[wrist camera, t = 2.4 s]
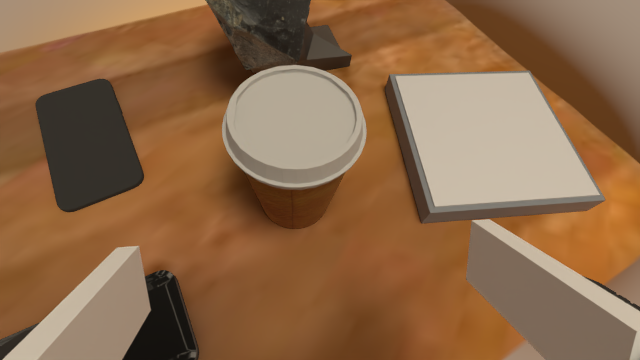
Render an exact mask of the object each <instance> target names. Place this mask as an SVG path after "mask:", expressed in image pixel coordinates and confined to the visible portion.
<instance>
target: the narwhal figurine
mask: <svg viewBox="0 0 640 360" xmlns="http://www.w3.org/2000/svg"><path fill="white" fill-rule="evenodd" d="M206 1H207V3H208V5H209V7H210V8H211V10H212V12H213V13H214V15H215V17H216V18H217V20H218V22H219V24H220V26H221V27H222V29H223V31H224V32H225V34H226V36H227V37H228V39H229V41H230V43H231V44H232V46H233V48H234V51H235V53H236V55H237V56H238V58H239V60H240V61H241V63H242V65H243V67H244V68H245V69H246V70H249V69H250V70H251V71H252V72H253V73H254V72H255V73H258V72H260V71H263V70H267V69H270V68H273V67H277V66H288V65H300V66H308V67H314V68H317V69H320V70H323V71H326V70H330V69H336V68H341V67H347V66H350V61H351V56H352V55H351V54H349V53H347V52H345V51H344V50H342V49H340V47H339V45H338V43H337V41H336V39H335V38H334V36H333V34H332V32H331V30H330V28H329V26H328V25H323V26H317V27H309V25H308V24H307V18H308V15H309V9H310V8H309V5H310V1H311V0H206Z"/></svg>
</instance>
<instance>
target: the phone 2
mask: <svg viewBox="0 0 640 360" xmlns="http://www.w3.org/2000/svg"><path fill="white" fill-rule="evenodd" d="M145 281H146V287H147V292H148V297H149V303H150V308H151V311H150V312H149V314H148V316H147V317H146V319H145V321H144V323H143V324H142V326H141V328H140V330H139V331H138V333H137V335H136V336H135V338H134V340H133V342H132V343H131V345H130V347H129V349H128V350H127V352H126V354H125V355H124V357H123V359H122V360H198V356H199V349H198V345H197V341H196V338H195V335H194V332H193V328H192V325H191V322H190V319H189V315H188V312H187V309H186V306H185V303H184V299H183V296H182V293H181V290H180V286H179V283H178V280H177V278H176V277H175V276H174V275H173V274H172V273H170V272H169V271H166V270H161V271H157V272H154V273H152V274H150V275H148V276H145ZM38 324H39V323H38ZM38 324H35V325H33V326H31V327H28V328H26V329H24V330H22V331H19V332H17V333H15V334H12V335H10V336H8V337H5V338H3V339H1V340H0V347H1V346H2V345H3V344H5V343H6V342H8V341H10V340H11V339H13V338H14V337H16V336H17V335H19V334H21V333H22V332H24V331H26V330H33V329H34V328H35V327H36V326H37V325H38Z"/></svg>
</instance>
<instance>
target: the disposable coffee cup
mask: <svg viewBox="0 0 640 360" xmlns="http://www.w3.org/2000/svg"><path fill="white" fill-rule="evenodd" d="M366 132H367V131H366V123H365V119H364V116H363V113H362V110H361V106H360V104H359V101H358V98H357V97H356V96H355V94H354V93H353V91H352V90H351V89H350V88H349V87H348V86H347V85H346V84H345V83H344V82H343V81H342V80H340V79H339V78H337V77H336V76H334V75H332V74H330V73H328V72H326V71H323V70H320V69H317V68H314V67H308V66H300V65H288V66H277V67H273V68H270V69H267V70H263V71H260V72H258V73H257V74H255V75H253V76H251V77H249V78H248V79H247V80H245V81H244V82H243V83H242V84H241V85H240V86H239V87H238V88H237V90H236V91H235V92H234V94H233V95H232V97H231V99H230V101H229V105H228V108H227V111H226V113H225V116H224V119H223V124H222V136H223V141H224V144H225V147H226V149H227V151H228V153H229V155H230V156H231V158H232V159H233V161H234V162H235V164H236V165H237V166H238V167H240V168H241V169H242V170H243V171H244V172H245V174H246V176H247V178H248V180H249V182H250V184H251V186H252V188H253V190H254V192H255V194H256V196H257V197H258V200H259V201H260V203H261V205H262V207H263V209H264V212H265V213H266V215H267V216H268V217H269V218H270V219H271V220H272V221H273V222H275V223H276V224H278V225H280V226H282V227H285V228H290V229H299V228H305V227H307V226H310V225H312V224H314V223H315V222H317V221H318V220H319V219H320V218H321V217H322V216H323V214H324V213H325V211H326V209H327V207H328V205H329V203H330V201H331V199H332V197H333V195H334V193H335V191H336V189H337V187H338V186H339V183H340V182H341V180H342V178H343V176H344V174H345V172H346V171H347V170H349V169H350V168H351V167H352V165H353V164H354V163H355V162H356V160H357V159H358V158H359V156H360V154H361V152H362V150H363V147H364V145H365V140H366Z"/></svg>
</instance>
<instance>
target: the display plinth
mask: <svg viewBox="0 0 640 360" xmlns="http://www.w3.org/2000/svg"><path fill="white" fill-rule="evenodd" d="M385 92H386V96H387V100H388V103H389V107H390V110H391V114H392V118H393V121H394V125H395V129H396V132H397V136H398V140H399V143H400V147H401V150H402V154H403V158H404V161H405V165H406V169H407V172H408V176H409V179H410V183H411V187H412V190H413V194H414V198H415V201H416V205H417V209H418V212H419V216H420V219H421V223H432V222H445V221H458V220H471V219H484V218H497V217H510V216H523V215H536V214H550V213H563V212H576V211H587V210H589V209H591V208H593V207H594V206H596V205H598V204H600V203H602V202H603V201H605V198H604V196H603V194H602V193H601V191H600V189H599V188H598V186H597V184H596V183H595V181H594V179H593V177H592V176H591V174H590V172H589V171H588V169H587V167H586V166H585V164H584V162H583V161H582V159H581V157H580V155H579V154H578V152H577V150H576V149H575V147H574V145H573V144H572V142H571V140H570V138H569V137H568V135H567V133H566V132H565V130H564V128H563V127H562V125H561V123H560V122H559V120H558V118H557V116H556V115H555V113H554V111H553V110H552V108H551V106H550V105H549V103H548V101H547V99H546V98H545V96H544V94H543V93H542V91H541V89H540V88H539V86H538V84H537V82H536V81H535V79H534V77H533V76H532V74H531V72H530V71H506V72H466V73H426V74H389V78H388V81H387V84H386V87H385Z"/></svg>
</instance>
